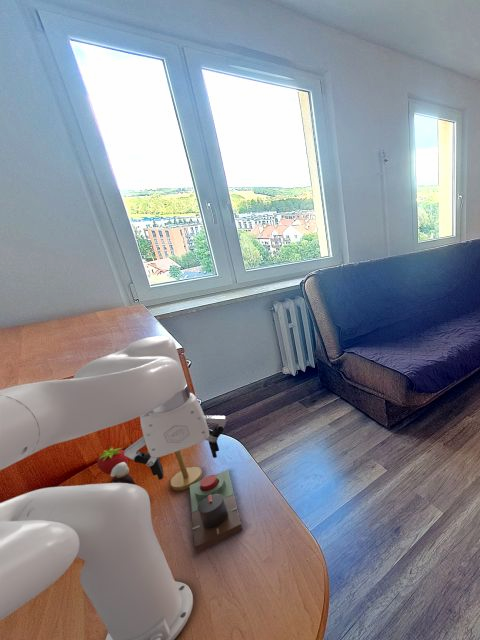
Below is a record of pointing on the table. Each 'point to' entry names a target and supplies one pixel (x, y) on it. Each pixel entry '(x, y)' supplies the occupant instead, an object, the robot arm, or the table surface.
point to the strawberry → (111, 459)
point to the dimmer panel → (219, 533)
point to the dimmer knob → (213, 510)
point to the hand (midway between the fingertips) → (188, 464)
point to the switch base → (222, 488)
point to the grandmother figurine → (122, 474)
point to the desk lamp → (185, 475)
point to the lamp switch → (209, 483)
